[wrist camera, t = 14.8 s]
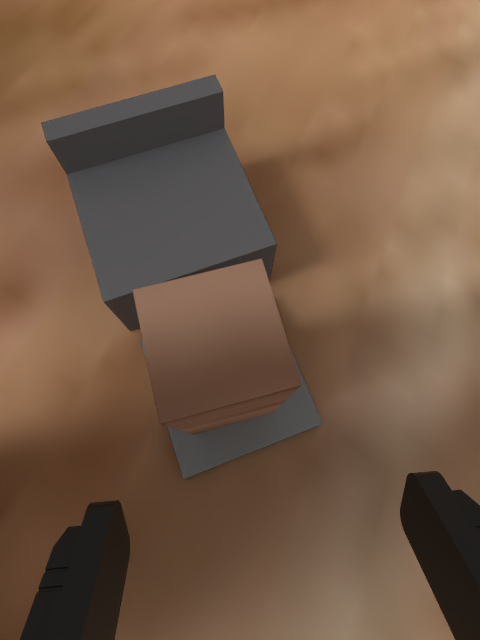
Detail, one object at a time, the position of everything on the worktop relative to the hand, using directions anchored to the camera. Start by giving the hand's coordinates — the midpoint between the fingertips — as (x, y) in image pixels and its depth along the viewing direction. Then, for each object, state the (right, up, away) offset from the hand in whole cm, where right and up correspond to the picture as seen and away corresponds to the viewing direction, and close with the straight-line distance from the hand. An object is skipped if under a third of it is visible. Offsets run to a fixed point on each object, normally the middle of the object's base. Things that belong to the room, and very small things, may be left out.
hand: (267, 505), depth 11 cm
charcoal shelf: (-5, +10, +15) cm, 18 cm away
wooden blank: (-2, +2, +11) cm, 11 cm away
